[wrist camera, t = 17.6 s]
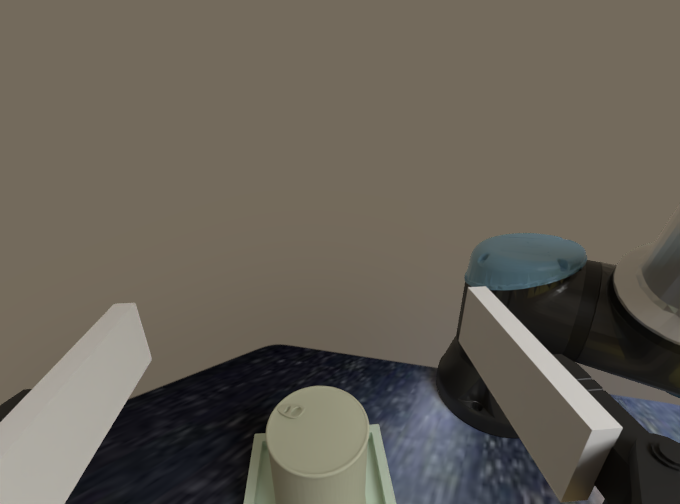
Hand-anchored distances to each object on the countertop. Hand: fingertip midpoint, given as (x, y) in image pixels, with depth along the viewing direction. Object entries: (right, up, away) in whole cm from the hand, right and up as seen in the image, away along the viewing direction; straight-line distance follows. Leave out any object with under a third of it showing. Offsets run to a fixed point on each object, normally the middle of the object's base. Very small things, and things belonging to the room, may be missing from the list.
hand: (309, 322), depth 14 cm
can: (-1, -23, +21) cm, 31 cm away
